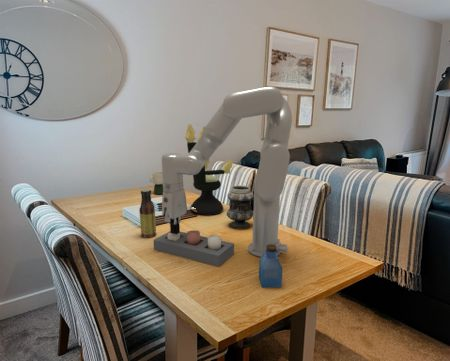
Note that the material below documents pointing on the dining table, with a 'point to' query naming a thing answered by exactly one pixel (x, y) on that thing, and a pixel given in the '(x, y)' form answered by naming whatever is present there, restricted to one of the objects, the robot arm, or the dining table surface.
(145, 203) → the sauce bottle
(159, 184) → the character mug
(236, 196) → the apothecary jar
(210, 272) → the dining table surface
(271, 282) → the perfume bottle
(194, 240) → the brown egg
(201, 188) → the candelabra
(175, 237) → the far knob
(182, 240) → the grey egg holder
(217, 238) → the near knob
